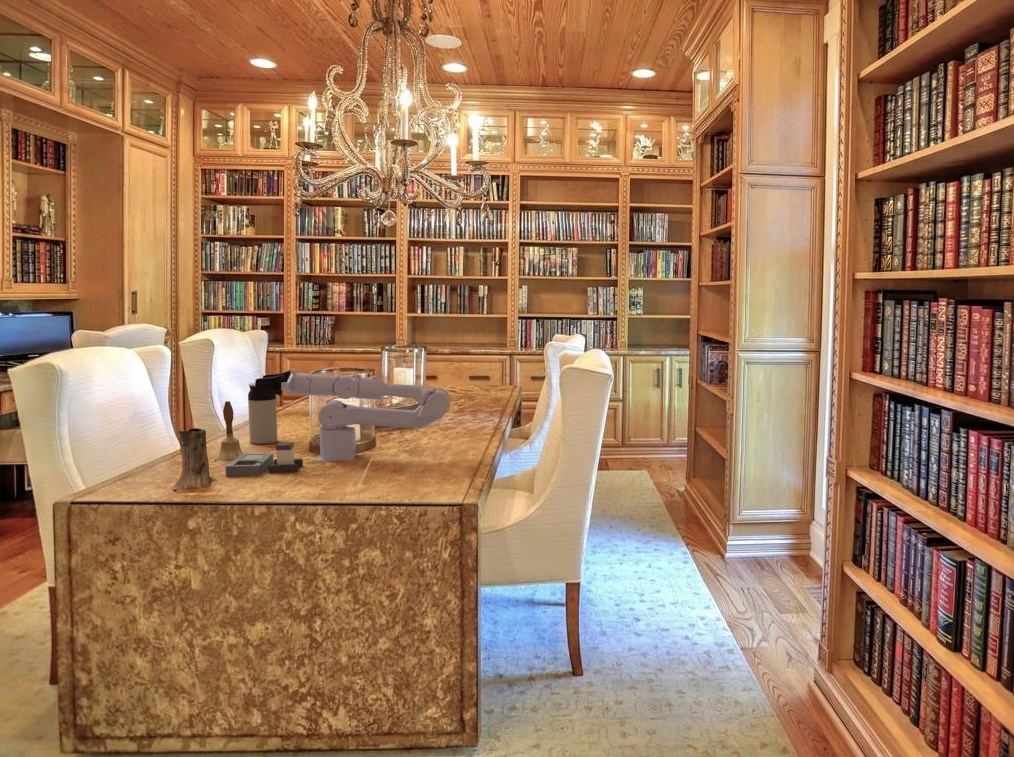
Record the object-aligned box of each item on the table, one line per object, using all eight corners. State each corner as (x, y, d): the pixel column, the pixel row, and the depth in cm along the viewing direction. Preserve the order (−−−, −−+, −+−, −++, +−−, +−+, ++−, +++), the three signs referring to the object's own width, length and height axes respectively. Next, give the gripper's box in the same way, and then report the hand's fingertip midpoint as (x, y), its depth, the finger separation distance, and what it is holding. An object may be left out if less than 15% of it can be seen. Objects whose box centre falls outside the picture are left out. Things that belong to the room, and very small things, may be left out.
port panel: (273, 464, 190) (273, 451, 190) (259, 477, 177) (259, 464, 176) (242, 464, 190) (241, 452, 189) (226, 478, 176) (225, 464, 176)
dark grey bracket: (302, 467, 187) (302, 458, 186) (297, 474, 180) (296, 465, 179) (275, 468, 186) (274, 459, 186) (268, 475, 179) (268, 465, 179)
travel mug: (283, 441, 221) (281, 382, 218) (261, 445, 214) (259, 385, 212) (265, 438, 225) (263, 380, 223) (244, 442, 218) (241, 383, 216)
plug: (294, 467, 185) (293, 442, 184) (291, 470, 181) (290, 445, 180) (280, 467, 184) (279, 442, 184) (277, 471, 181) (276, 445, 180)
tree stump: (170, 493, 162) (168, 434, 161) (172, 483, 171) (170, 427, 170) (218, 489, 166) (216, 432, 165) (217, 480, 175) (215, 425, 174)
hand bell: (236, 463, 191) (233, 404, 190) (208, 461, 193) (205, 403, 191) (253, 456, 200) (250, 399, 198) (226, 455, 201) (223, 398, 199)
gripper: (316, 366, 200) (266, 363, 199) (306, 372, 186) (252, 369, 185) (315, 391, 201) (265, 388, 200) (305, 399, 187) (251, 396, 186)
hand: (259, 381), depth 192 cm, fingers open, 7 cm apart
